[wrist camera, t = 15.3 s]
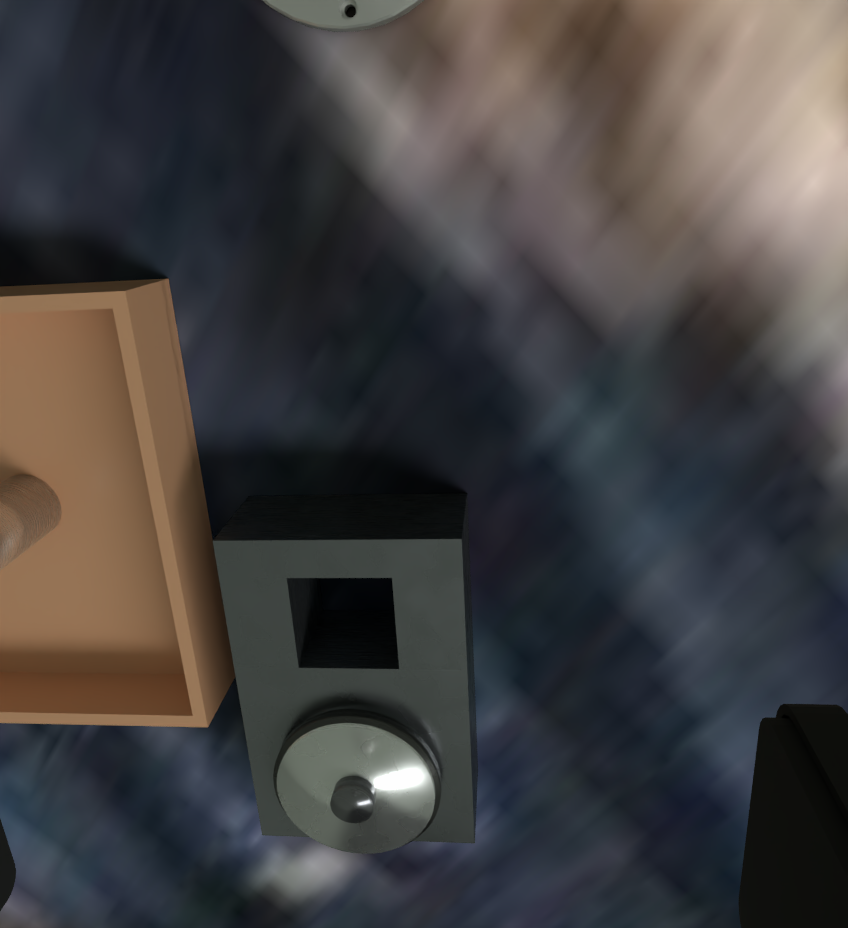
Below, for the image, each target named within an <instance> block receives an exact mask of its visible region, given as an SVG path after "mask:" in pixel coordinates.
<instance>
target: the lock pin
mask: <svg viewBox="0 0 848 928" xmlns="http://www.w3.org/2000/svg"><path fill="white" fill-rule="evenodd" d="M61 513H62V511H61V504H60V501H59V498H58V496H57V495H56V493H55V492H54V490H53V489H52V488H51V487H50V486H49V485H48V484H47V483H46V482H44V481H43V480H41V479H39V478H37V477H35V476H31V475H27V474H18V475H13V476H11V477H9V478H7V479H6V480H4V481H2V482H1V483H0V570H2V569H3V568H4V567H5V566H7V565H8V564H9V563H11V562H12V561H13V560H15V559H16V558H17V557H18V556H20V555H21V554H22V553H24V552H25V551H26V550H28V549H29V548H30V547H31V546H33V545H34V544H35V543H37V542H38V541H39V540H41V539H42V538H43V537H44V536H46V535H47V534H48V533H50V532H51V531H52V530H54V529H55V528H56V527H57V525H58V524H59V522H60V519H61Z"/></svg>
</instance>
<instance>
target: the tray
mask: <svg viewBox="0 0 848 928" xmlns="http://www.w3.org/2000/svg"><path fill="white" fill-rule="evenodd" d="M18 474H27V475H31V476H35V477H37V478H39V479H41V480H43V481H44V482H46V483H47V484H48V485H49V486H50V487H51V488H52V489H53V490H54V492H55V493H56V495H57V496H58V498H59V501H60V504H61V511H62V513H61V519H60V522H59V524H58V525H57V527H56V528H55V529H54V530H52V531H51V532H50V533H48V534H47V535H46V536H44V537H43V538H42V539H41V540H39V541H38V542H37V543H35V544H34V545H33V546H31V547H30V548H29V549H28V550H26V551H25V552H24V553H22V554H21V555H20V556H18V557H17V558H16V559H15V560H13V561H12V562H11V563H9V564H8V565H7V566H5V567H4V568H3V569H2V570H0V723H34V724H80V725H126V726H172V727H208V726H209V724H210V722H211V721H212V719H213V717H214V715H215V713H216V711H217V710H218V708H219V706H220V704H221V702H222V700H223V698H224V697H225V695H226V693H227V691H228V689H229V687H230V686H231V684H232V682H233V680H234V678H235V670H234V664H233V658H232V652H231V647H230V641H229V635H228V629H227V623H226V617H225V611H224V605H223V599H222V593H221V587H220V582H219V576H218V570H217V564H216V558H215V552H214V546H213V539H212V533H211V527H210V521H209V515H208V509H207V503H206V498H205V492H204V486H203V480H202V474H201V468H200V462H199V456H198V450H197V444H196V438H195V432H194V427H193V421H192V415H191V409H190V403H189V397H188V391H187V385H186V379H185V373H184V367H183V362H182V356H181V350H180V344H179V338H178V332H177V326H176V320H175V314H174V308H173V302H172V296H171V291H170V285H169V279H151V280H130V281H109V282H88V283H67V284H46V285H26V286H5V287H0V483H1V482H2V481H4V480H6V479H7V478H9V477H11V476H13V475H18Z"/></svg>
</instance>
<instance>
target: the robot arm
mask: <svg viewBox="0 0 848 928" xmlns="http://www.w3.org/2000/svg"><path fill="white" fill-rule="evenodd" d="M262 1H263V2H265V3H266V4H267V5H268V6H270V7H271V8H273V9H274V10H276V11H277V12H279V13H280V14H282V15H283V16H285V17H287V18H289V19H291V20H294V21H296V22H298V23H301V24H303V25H305V26H308V27H311V28H316V29H321V30H326V31H332V32H353V31H363V30H366V29H370V28H374V27H378V26H382V25H385V24H387V23H389V22H391V21H393V20H395V19H397V18H399V17H401V16H403V15H405V14H407V13H409V12H410V11H411V10H412V9H414V8H415V7H416V6H418V5H419V4H420V3H421V2H423V1H424V0H262ZM351 6H352V7H355V9H356V14H355V15H354V17H351V18H350V17H347V14H346V12H347V9H348V8H349V7H351ZM15 877H16V868H15V863H14V860H13V857H12V854H11V851H10V848H9V845H8V841H7V838H6V835H5V832H4V829H3V826H2V823H1V820H0V911H1V909H2V908H3V906H4V905H5V903H6V902H7V900H8V898H9V896H10V895H11V892H12V889H13V887H14V882H15ZM739 915H740V922H741V927H742V928H848V714H847V713H846V712H845V711H844V709H843V708H842V707H840V706H838V705H817V704H783V705H781V706H780V707H779V709H778V711H777V715H776V718H763V719H762V721H761V723H760V727H759V735H758V743H757V751H756V760H755V768H754V776H753V785H752V793H751V801H750V810H749V818H748V826H747V835H746V843H745V851H744V860H743V868H742V876H741V885H740V893H739Z"/></svg>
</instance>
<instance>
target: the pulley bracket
mask: <svg viewBox="0 0 848 928" xmlns="http://www.w3.org/2000/svg"><path fill="white" fill-rule="evenodd" d="M213 546H214V552H215V558H216V564H217V570H218V576H219V582H220V587H221V593H222V599H223V605H224V611H225V617H226V623H227V629H228V635H229V641H230V647H231V652H232V658H233V664H234V670H235V676H236V682H237V688H238V694H239V700H240V706H241V712H242V717H243V723H244V729H245V735H246V741H247V747H248V753H249V759H250V765H251V771H252V777H253V783H254V788H255V794H256V800H257V806H258V812H259V818H260V824H261V830H262V835H271V836H298V837H311V838H313V839H314V840H316V841H318V842H320V843H322V844H324V845H326V846H329V847H331V848H334V849H338V850H341V851H346V852H351V853H362V854H363V853H380V852H385V851H389V850H393V849H395V848H398V847H401V846H403V845H405V844H407V843H409V842H411V841H429V842H455V843H475V826H476V803H477V780H478V759H477V733H476V708H475V682H474V657H473V631H472V606H471V580H470V554H469V529H468V503H467V493H440V494H368V495H296V496H249V497H248V498H247V499H246V500H245V502H244V503H243V504H242V505H241V507H240V508H239V509H238V510H237V511H236V513H235V514H234V515H233V516H232V518H231V519H230V520H229V521H228V522H227V524H226V525H225V526H224V527H223V529H222V530H221V531H220V532H219V534H218V535H217V536H216V537H215V538H214V540H213ZM319 578H392V585H393V597H394V610H395V611H375V610H323V606H322V597H321V589H320V580H319Z"/></svg>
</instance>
